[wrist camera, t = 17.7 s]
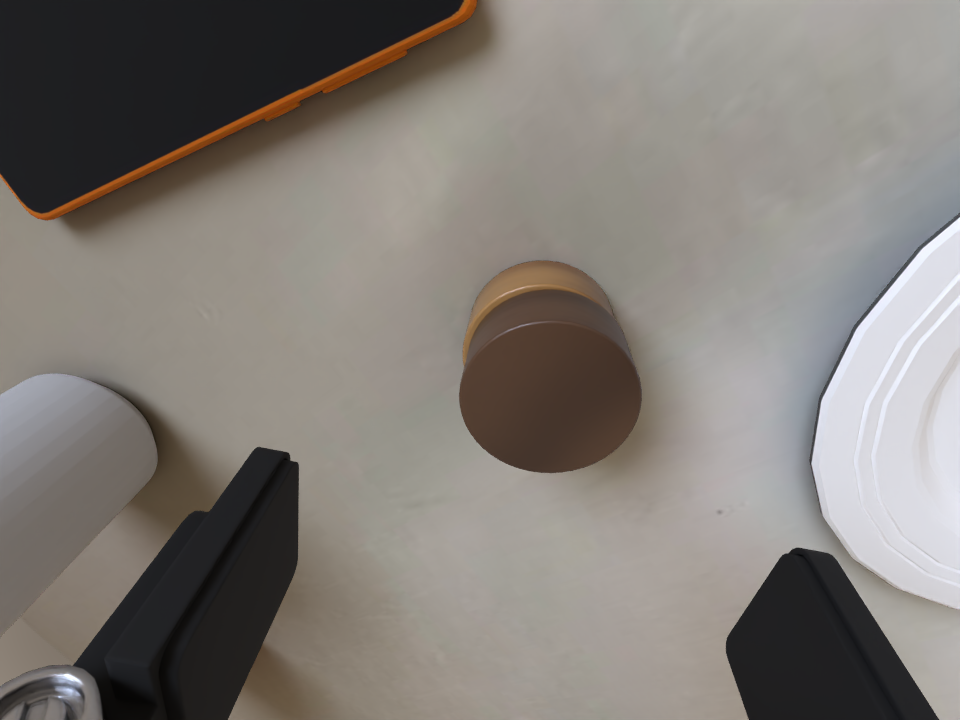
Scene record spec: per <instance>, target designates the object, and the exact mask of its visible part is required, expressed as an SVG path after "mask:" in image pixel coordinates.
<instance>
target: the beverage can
mask: <svg viewBox="0 0 960 720" xmlns="http://www.w3.org/2000/svg"><path fill="white" fill-rule="evenodd" d="M157 461H158V454H157V448H156V444H155V441H154V438H153V434H152V431H151V428H150V426H149V424H148V423H147V421H146V419H145V418H144V416H143V415H142V414H141V413H140V412H139V410H138V409H137V408H136V407H135V406H134V405H132V404H131V403H130V402H129V401H128V400H126V399H125V398H124V397H122V396H121V395H119V394H118V393H116V392H114V391H112V390H111V389H109V388H106V387H104V386H102V385H99V384H97V383H94V382H92V381H90V380H87V379H84V378H80V377H77V376H72V375H66V374H55V373H54V374H42V375H38V376H34V377H31V378H29V379H27V380H24V381H23V382H21V383H19V384H18V385H16V386H14V387H13V388H11V389H9V390H8V391H6V392H4V393H3V394H1V395H0V637H1V636H2V635H3V634H4V633H5V632H6V631H7V630H8V629H9V628H10V627H11V626H12V624H13V623H14V622H15V621H16V620H17V619H18V618H19V617H20V616H21V615H22V614H23V613H24V612H25V611H26V610H27V609H28V608H29V607H30V606H31V605H32V604H33V602H34V601H35V600H36V599H37V598H38V597H39V596H40V595H41V594H42V593H43V592H44V591H45V590H46V589H47V588H48V587H49V586H50V585H51V584H52V583H53V581H54V580H55V579H56V578H57V577H58V576H59V575H60V574H61V573H62V572H63V571H64V570H65V569H66V568H67V567H68V566H69V565H70V564H71V563H72V562H73V560H74V559H75V558H76V557H77V556H78V555H79V554H80V553H81V552H82V551H83V550H84V549H85V548H86V547H87V546H88V545H89V544H90V543H91V542H92V540H93V539H94V538H95V537H96V536H97V535H98V534H99V533H100V532H101V531H102V530H103V529H104V528H105V527H106V526H107V525H108V524H109V523H110V522H111V521H112V519H113V518H114V517H115V516H116V515H117V514H118V513H119V512H120V511H121V510H122V509H123V508H124V507H125V506H126V505H127V504H128V503H129V502H130V501H131V500H132V498H133V497H134V496H135V495H136V494H137V493H138V492H139V491H140V490H141V489H142V488H143V487H144V486H145V485H146V484H147V483H148V481H149V480H150V479H151V477H152V476H153V475H154V473H155V470H156V467H157Z"/></svg>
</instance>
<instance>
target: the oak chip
mask: <svg viewBox="0 0 960 720" xmlns="http://www.w3.org/2000/svg"><path fill="white" fill-rule="evenodd" d="M544 289H552V290H563V291H569V292H573V293H577V294H579V295H582V296H584V297H587V298H589V299H591V300H593V301H594V302H596V303H598V304H599V305H600V306H602V307H603V308H604V309H606V310H607V311H608V312H609V313H610V314H611V315H612V316H613V317H614V315H613V312H612V309H611V306H610V303H609V301H608V299H607V297H606V295H605V293H604V292H603V290H602V289H601V288H600V286H599V285H598V284H597V283H596V282H595V281H594V280H593V279H592V278H591V277H589V276H588V275H587V274H586V273H584V272H582V271H580V270H579V269H577V268H575V267H572V266H570V265H567V264H563V263H560V262H553V261H532V262H526V263H522V264H518V265H516V266H513V267H510V268H508V269H506V270H505V271H503V272H501V273H500V274H498V275H497V276H495V277H494V278H493V279H492V280H491V281H490V282H489V283H488V284H487V285H486V286H485V287H484V288H483V289H482V291H481V292H480V294H479V295H478V297H477V299H476V301H475V303H474V306H473V308H472V312H471V316H470V320H469V324H468V328H467V332H466V336H465V340H464V344H463V364H464V366H465V362H466V358H467V354H468V349H469V345H470V341H471V339H472V336H473V334H474V332H475V330H476V328H477V327H478V325H479V323H480V322H481V321H482V320H483V319H484V317H485V316H486V315H487V314H488V313H489V312H490V311H491V310H492V309H494V308H495V307H496V306H498V305H499V304H501V303H502V302H504V301H506V300H508V299H510V298H511V297H514V296H517V295H519V294H522V293H526V292H530V291H535V290H544ZM614 319H615V318H614Z"/></svg>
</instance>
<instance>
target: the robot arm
mask: <svg viewBox="0 0 960 720" xmlns="http://www.w3.org/2000/svg"><path fill="white" fill-rule="evenodd" d="M298 491H299V465H298V462H293V461H290V455H289V453H287V452H283V451H277V450H272V449H267V448H261V447H257V448H255V449H254V451H253V452H252V453H251V454H250V456H249V457H248V459H247V460H246V461H245V463H244V464H243V466H242V467H241V468H240V470H239V471H238V473H237V474H236V475H235V477H234V478H233V479H232V481H231V482H230V484H229V485H228V486H227V488H226V489H225V491H224V492H223V493H222V495H221V496H220V498H219V499H218V500H217V502H216V503H215V505H214V506H213V507H212V509H211V510H210V511H209V512H204V511H194V512H193V513H191V514H189V515H188V516H187V518H186V519H185V520H184V521H183V522H182V523H181V525H180V526H179V527H178V528H177V530H176V531H175V532H174V534H173V535H172V536H171V538H170V539H169V540H168V542H167V543H166V544H165V546H164V547H163V548H162V550H161V551H160V552H159V553H158V555H157V556H156V557H155V559H154V560H153V561H152V563H151V564H150V565H149V567H148V568H147V569H146V571H145V572H144V573H143V574H142V576H141V577H140V578H139V580H138V581H137V582H136V584H135V585H134V586H133V588H132V589H131V590H130V592H129V593H128V594H127V595H126V597H125V598H124V599H123V601H122V602H121V603H120V605H119V606H118V607H117V609H116V610H115V611H114V613H113V614H112V615H111V616H110V618H109V619H108V620H107V622H106V623H105V624H104V626H103V627H102V628H101V630H100V631H99V632H98V634H97V635H96V636H95V637H94V639H93V640H92V641H91V643H90V644H89V645H88V647H87V648H86V649H85V651H84V652H83V653H82V655H81V656H80V657H79V658H78V660H77V661H76V662H75V664H74V665H73V666H71V665H52V666H46V667H42V668H39V669H36V670H32V671H29V672H26V673H24V674H22V675H20V676H18V677H16V678H14V679H12V680H10V681H8V682H6V683H4V684H3V685H2V686H0V720H228V718H229V715H230V713H231V711H232V709H233V707H234V705H235V702H236V700H237V698H238V696H239V694H240V692H241V689H242V687H243V685H244V683H245V681H246V678H247V676H248V674H249V672H250V670H251V668H252V665H253V663H254V661H255V659H256V657H257V654H258V652H259V650H260V648H261V646H262V644H263V641H264V639H265V637H266V635H267V633H268V630H269V628H270V626H271V624H272V622H273V620H274V617H275V615H276V613H277V611H278V609H279V607H280V604H281V602H282V600H283V598H284V596H285V593H286V591H287V589H288V587H289V585H290V583H291V580H292V578H293V576H294V573H295V570H296V566H297V561H298ZM726 654H727V658H728V661H729V664H730V666H731V669H732V672H733V675H734V678H735V681H736V684H737V687H738V689H739V692H740V695H741V698H742V701H743V704H744V707H745V710H746V712H747V715H748V718H749V720H939V719H938V717H937V716H936V714H935V713H934V711H933V709H932V708H931V706H930V705H929V703H928V702H927V700H926V699H925V697H924V695H923V694H922V692H921V691H920V689H919V688H918V686H917V685H916V683H915V681H914V680H913V678H912V677H911V675H910V674H909V672H908V671H907V669H906V667H905V666H904V664H903V663H902V661H901V660H900V658H899V657H898V655H897V653H896V652H895V650H894V649H893V647H892V646H891V644H890V643H889V641H888V639H887V638H886V636H885V635H884V633H883V632H882V630H881V628H880V627H879V625H878V624H877V622H876V621H875V619H874V618H873V616H872V614H871V613H870V611H869V610H868V608H867V607H866V605H865V604H864V602H863V600H862V599H861V597H860V596H859V594H858V593H857V591H856V590H855V588H854V586H853V585H852V583H851V582H850V580H849V579H848V577H847V576H846V574H845V572H844V571H843V569H842V568H841V566H840V565H839V563H838V561H837V560H836V559H835V558H834V557H833V556H832V555H830V554H829V553H824V552H819V551H814V550H808V549H803V548H794V549H792V550H791V551H790V552H789V553H788V554H784V555H782V556H781V558H780V559H779V561H778V562H777V564H776V565H775V566H774V568H773V569H772V571H771V572H770V574H769V575H768V577H767V578H766V580H765V581H764V583H763V584H762V586H761V587H760V589H759V590H758V592H757V593H756V595H755V596H754V598H753V599H752V601H751V602H750V604H749V605H748V607H747V608H746V610H745V611H744V613H743V614H742V616H741V617H740V619H739V620H738V622H737V623H736V625H735V626H734V628H733V629H732V631H731V632H730V634H729V635H728V637H727V641H726Z"/></svg>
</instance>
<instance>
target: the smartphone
mask: <svg viewBox="0 0 960 720" xmlns="http://www.w3.org/2000/svg"><path fill="white" fill-rule="evenodd" d="M476 5H477V0H0V177H1V178H2V179H3V181H4V182H5V183H6V185H7V186H8V187H9V189H10V190H11V191H12V193H13V194H14V195H15V196H16V198H17V199H18V200H19V202H20V203H21V204H22V206H23V207H24V208H25V209H26V210H27V211H28V212H29V213H30V214H31V215H33V216H34V217H36V218H38V219H42V220H52V219H55V218H57V217H60V216H62V215H64V214H66V213H68V212H70V211H72V210H74V209H76V208H78V207H80V206H82V205H84V204H87V203H89V202H91V201H93V200H95V199H97V198H99V197H101V196H103V195H105V194H107V193H109V192H112V191H114V190H116V189H118V188H120V187H122V186H124V185H126V184H128V183H130V182H132V181H134V180H137V179H139V178H141V177H143V176H145V175H147V174H149V173H151V172H153V171H155V170H157V169H159V168H161V167H164V166H166V165H168V164H170V163H172V162H174V161H176V160H178V159H180V158H182V157H184V156H186V155H189V154H191V153H193V152H195V151H197V150H199V149H201V148H203V147H205V146H207V145H209V144H211V143H214V142H216V141H218V140H220V139H222V138H224V137H226V136H228V135H230V134H232V133H234V132H236V131H238V130H241V129H243V128H245V127H247V126H249V125H251V124H253V123H255V122H257V121H259V120H261V119H263V118H264V120H265V121H270V120H272V119H274V118H276V117H278V116H280V115H282V114H284V113H286V112H289V111H291V110H293V109H295V108H297V107H299V106H301V104H300V101H301V100H303V99H305V98H307V97H309V96H311V95H313V94H315V93H318V92H320V91H322V92H323V93H328V92H330V91H333V90H335V89H337V88H339V87H341V86H343V85H345V84H347V83H349V82H351V81H353V80H356V79H358V78H360V77H362V76H364V75H366V74H368V73H370V72H372V71H374V70H376V69H379V68H381V67H383V66H385V65H387V64H389V63H391V62H393V61H395V60H397V59H400V58H402V57H404V56H406V55H407V49H409V48H411V47H413V46H415V45H417V44H420V43H422V42H424V41H426V40H428V39H430V38H432V37H434V36H436V35H438V34H440V33H442V32H444V31H447V30H449V29H451V28H453V27H455V26H457V25H459V24H461V23H463V22H465V21H466V20H467V19H468V18H470V17H471V16H472V14H473V12H474V10H475V9H476Z"/></svg>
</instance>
